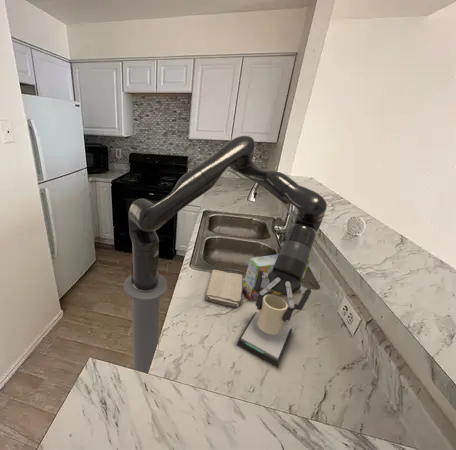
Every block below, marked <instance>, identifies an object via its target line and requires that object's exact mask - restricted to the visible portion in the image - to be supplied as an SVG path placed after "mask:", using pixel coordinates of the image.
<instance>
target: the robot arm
mask: <svg viewBox="0 0 456 450" xmlns="http://www.w3.org/2000/svg"><path fill="white" fill-rule="evenodd" d="M255 153H256V141H255V140H254V138H253V137H252V136H250V135H240V136H237V137H234V138H233V139H231V140H229V142H227V143H226V144H225V145H224V146H222V147H221V148H220V149H219V150H217V151H216V153H214V154H213V155H211V156H210V157H208V158H207V159H206V160H204V161H202V162H201V163H199V164H198V165H197V166H194V167H193V168H192V169H189V171H187V172H186V173H184V174H183V175H181V177H180V178H179V179H178V180H177V182H176V184H175V185H174V187H173V189H172V190H171V191H170V193H169V194H167V195H166V196H165V197H164V198H162V199H161V200H158V201H156V202H155V203H153V202H152V201H150V200H149V199H147V198H138V199H136V200H134V201H133V202H132V203H131V204H130V207H129V210H128V229H129V237H130V240H131V244H132V245H131V246H132V247H131V249H132V261H131V262H130V275H131V282H132V284H133V286H134V288H135V289H136V290H138V291H140V292H151V291H153V290H155V289H156V288H157V287H158V277H159V275H158V274H159V254H160V253H159V252H160V251H159V248H160V247H159V246H160V238H159V236H158V234H157V232H156V231H157V230H159V229H160V228H161V227H162V226H164V225H165V224H166V223H168V222H169V220H170V219H172V218H173V217H174V216H175V215H176V214H178V213H179V212H180V211H181V210H183V209H184V208H185V207H187V206H188V205H189V204H191V203H192V202H194V201H195V200H197V199H198V198H200V197H201V196H203V195H204V194H206V193H207V192H209V190H211V189H212V188H213V187H214V186H215V185H216V183H218V181H219V180H220V178H221V177H222V176H223V174H224V172H226V170H227V169H228V168H229V167H230V169H232V170H233V171H235V172H236V173H238V174H240V175H242V176H244V177H246V178H247V179H249V180H250V181H252V182H254V183H256V184H258V185H259V186H261V187H262V188H264V189H265V190H266V191H268V193H270V194H271V195H273V196H274V197H275V198H276V199H278V200H279V201H280V202H281V203H283V204H285V205H292V206H293V207H295V208H296V209H297V214H296V217H295V220H294V223H293V225H292V226H290V228H289V230H288V232H287V235H286V238H285V240H284V242H283V243H282V245H281V248H280V249H279V251H278V254H279V255H278V257H277V260H276V262H275V265H274V267H273V269H272V271H271V272H270V273H269V274H268V273H264V272H262V271H259V272H258V276H257V279H256V283H255V287H254V289H255V291H256V292H257V293H258V294H259V297H258V299H256V302H255V307H256V310H259V311H260V309H261V305H262V301H263V297H264V296H265V295H267V294H268V293H269V292H271V291H272V290H274V291H276V292H280V293H281V295H284V296H287V300H288V302H287V303H288V308H287V311H286V313H285V315H284V318H283V323H284V322H285V323H286V322H287V321H288V322H289V321H290V320H291V318H292V315H293V312H294V311H295V310H297V311H302V310H304V309H303V308H304V307H305V305H306V303H307V301H308V300H309V298H310V295H311V293H312V289H311V288H306V287H304V286H303V285H302V284H300V282H301V279H302V276H303V274H304V271H305V268H306V266H307V263H308V260H309V257H310V258H311V252H312V249H313V248H314V247H313V246H314V244H315V241H316V238H317V233H318V231H319V229H320V227H321V225H322V222H323V221H324V218H325V214H326V211H327V208H328V203H327V200H326V199H325V198H324V197H323V196H322V195H321V194H319V193H318V192H316V191H314V190H312V189H310V188H308V187H305V186H303V185H300V184H299V183H297V182H296V181H295V180H293V179H292V178H291V177H289V176H288V175H287V174H285V173H283V172H281V171H277V170H269V169H265V168H262V167H260V166H258V165H257V164H256V163H255V162H254V157H255ZM266 277H268V278H269V281H270V284H268V285H267V286H266V287H265V288H264V289H263V290H261V289H260V287H261V283H262V280H265V278H266ZM299 289H300V290H299ZM297 290H299V291H300V295H301V298H300V300H299V302H298V303H296V304H295V302H294V297H293V294H294V293H297V292H298V291H297ZM296 291H297V292H296Z"/></svg>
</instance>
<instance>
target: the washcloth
mask: <svg viewBox="0 0 456 450" xmlns="http://www.w3.org/2000/svg"><path fill="white" fill-rule="evenodd" d="M206 289H207V290H206V293H205V300H206V301H207V302H212V303H215V304H218V305H219V304H220V305H223V306H227V307H233V308H239V306H240V302H241V299H242V293H243V291H242V290H243V274H241V273H235V272H226V271H222V270H219V269H212V271H211V275H210V279H209V282H208V287H207V288H206Z"/></svg>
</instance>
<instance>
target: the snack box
mask: <svg viewBox="0 0 456 450" xmlns="http://www.w3.org/2000/svg"><path fill="white" fill-rule="evenodd" d="M278 255H279V253H277V254H269V255H264V256H257V257H256V256H255V257H250V258H249V260H248V264H247V265H248V266H247V269H246V273H245V277H244V282H243V285H242V293H243V294H244V296H245V297H246V298H247V299H248V300H249V301H253V300H257V299H258V297H259V294H258V293H257V292H256V291H255V289H254V287H255V283H256V279H257V276H258V272H259V271H262V272H264V273H268V274H269V273H270V272H271V271H272V269H273V267H274V265H275V262H276V260H277V257H278ZM310 263H311V256H310V257H309V260H308V263H307V266H306V268H305V271H304V274H303V276H302V279H301V282H300V284H301V285H302V284H303V281H304V278H305V275H306V273H307V271H308V268H309V265H310ZM268 284H270V281H269V278H268V277H266V278H265V280H262V283H261V287H260V289H261V290H263V289H264V288H265V287H266V286H267V285H268ZM300 291H301V290H300V289H299V290H297V291H296V292H295V293H297V292H300ZM268 294H275V295H278V296H281V295H282V294H281V293H280V292H276V291H274V290H272V291H271V292H269V293H268Z"/></svg>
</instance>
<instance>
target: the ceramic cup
mask: <svg viewBox="0 0 456 450" xmlns="http://www.w3.org/2000/svg"><path fill="white" fill-rule="evenodd" d="M288 307H289V302H287V300H286V299H285V298H283V297H282V296H281V295H275V294H267V295H265V296H264V297H263V301H262V305H261V309H260V310H259V311H258V312H259V316H258V321H257V324H258V327H259V328H260V329H261V330H262V331H263V332H265V333H268V334H272V335H275V334H278V333H279V332H280V330H281V327H282V324H284V321H283V318H284V315H285V313H286V311H287V308H288Z"/></svg>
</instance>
